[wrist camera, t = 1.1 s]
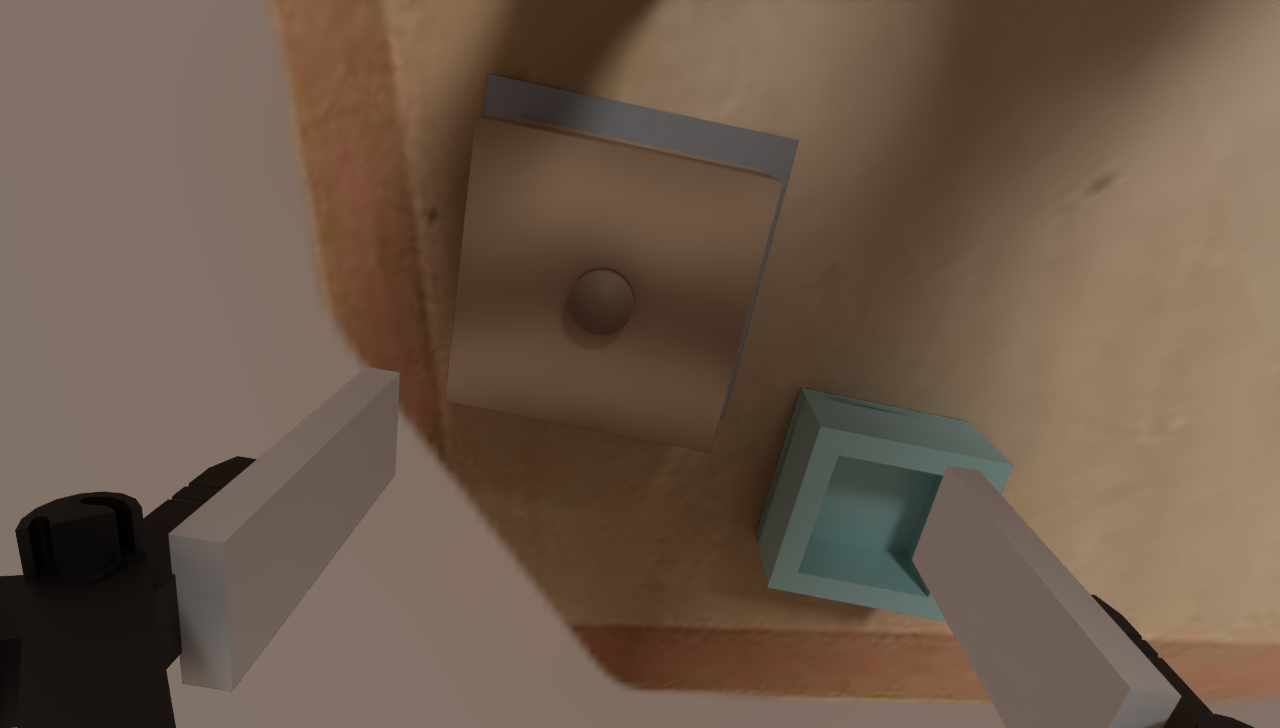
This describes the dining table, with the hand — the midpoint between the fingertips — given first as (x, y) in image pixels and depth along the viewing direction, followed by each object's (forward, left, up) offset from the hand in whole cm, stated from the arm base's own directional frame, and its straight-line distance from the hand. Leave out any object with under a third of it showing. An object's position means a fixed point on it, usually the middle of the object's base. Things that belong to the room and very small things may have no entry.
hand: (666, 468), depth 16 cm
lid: (-1, -3, -17) cm, 18 cm away
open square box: (+8, +12, -18) cm, 23 cm away
